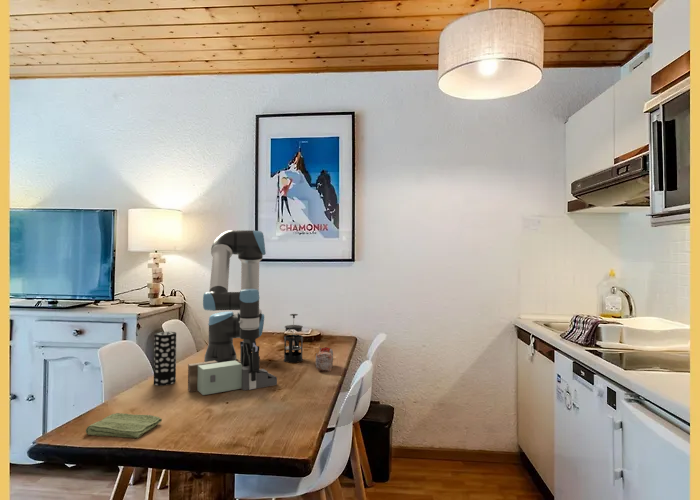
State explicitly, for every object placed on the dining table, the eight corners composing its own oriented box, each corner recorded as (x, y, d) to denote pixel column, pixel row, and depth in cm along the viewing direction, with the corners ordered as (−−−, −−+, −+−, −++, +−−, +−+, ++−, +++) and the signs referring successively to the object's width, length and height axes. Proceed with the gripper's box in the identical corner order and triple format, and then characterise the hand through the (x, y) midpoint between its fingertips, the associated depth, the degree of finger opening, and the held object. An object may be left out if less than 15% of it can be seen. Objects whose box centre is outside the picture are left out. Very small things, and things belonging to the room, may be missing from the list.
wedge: (239, 387, 177) (239, 367, 177) (272, 381, 185) (272, 362, 185) (243, 390, 173) (243, 369, 173) (277, 384, 181) (277, 365, 181)
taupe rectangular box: (187, 390, 173) (188, 364, 173) (256, 378, 189) (256, 354, 189) (190, 392, 170) (190, 365, 170) (259, 380, 187) (259, 356, 187)
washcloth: (139, 441, 127) (139, 430, 127) (82, 437, 130) (82, 426, 130) (164, 423, 140) (164, 413, 140) (112, 420, 143) (112, 410, 143)
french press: (299, 363, 216) (299, 315, 216) (280, 362, 217) (281, 315, 218) (306, 357, 227) (306, 312, 227) (288, 356, 229) (288, 312, 229)
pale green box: (197, 390, 172) (197, 365, 172) (234, 383, 180) (235, 360, 180) (203, 395, 165) (204, 370, 165) (242, 388, 174) (242, 364, 174)
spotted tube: (180, 381, 184) (180, 332, 184) (164, 386, 177) (164, 336, 177) (165, 378, 188) (166, 331, 188) (148, 383, 180) (149, 334, 180)
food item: (332, 372, 201) (333, 350, 201) (315, 372, 201) (315, 350, 201) (333, 364, 214) (333, 344, 214) (316, 364, 214) (317, 344, 214)
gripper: (231, 325, 182) (231, 382, 182) (249, 332, 167) (249, 394, 167) (249, 324, 186) (249, 379, 186) (268, 330, 172) (268, 391, 172)
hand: (249, 386), depth 177 cm, fingers closed on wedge, 5 cm apart
